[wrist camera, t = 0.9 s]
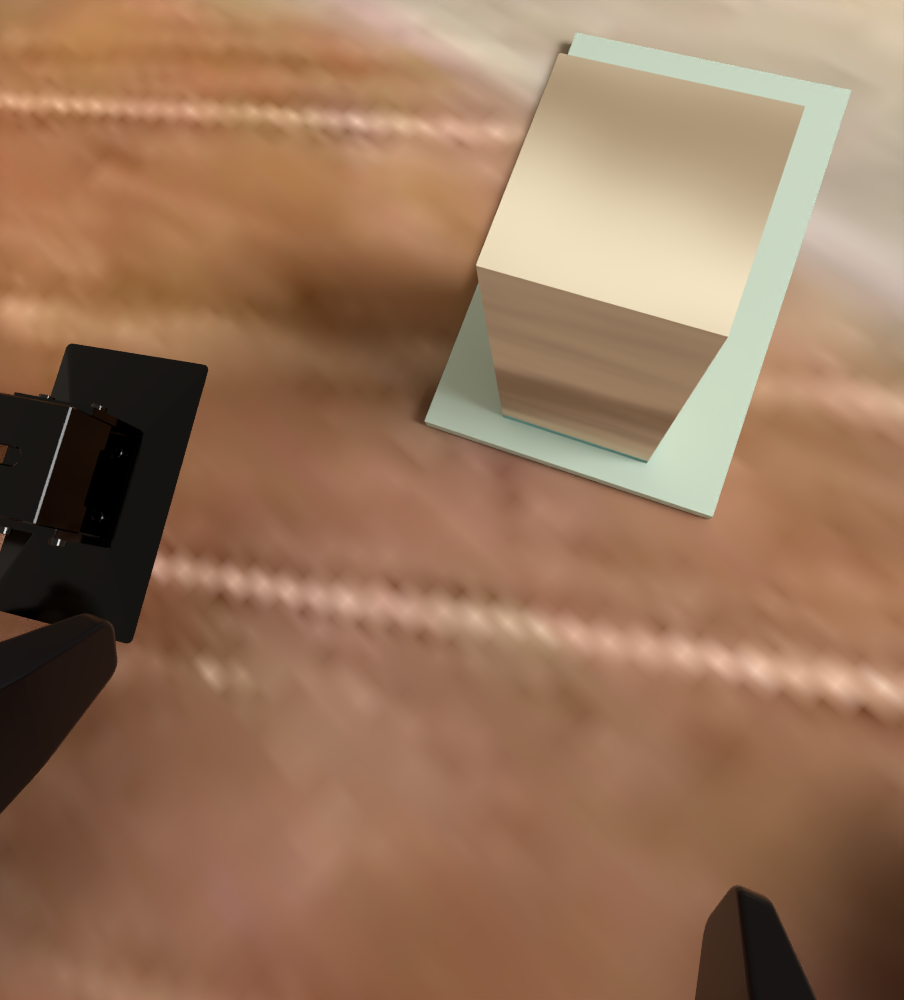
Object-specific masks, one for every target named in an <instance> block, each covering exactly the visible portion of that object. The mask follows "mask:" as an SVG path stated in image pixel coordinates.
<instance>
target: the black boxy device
mask: <svg viewBox="0 0 904 1000" xmlns="http://www.w3.org/2000/svg"><path fill="white" fill-rule="evenodd" d="M207 373H208V367H207V366H206V365H202V364H196V363H190V362H184V361H177V360H171V359H165V358H159V357H152V356H146V355H140V354H134V353H128V352H121V351H115V350H109V349H103V348H96V347H90V346H84V345H78V344H69V345H68V346H67V347H66V350H65V353H64V356H63V359H62V363H61V366H60V369H59V372H58V375H57V378H56V381H55V384H54V387H53V390H52V393H51V396H48V395H44V394H39V397H38V396H32V395H27V394H22V393H16V392H15V393H14V395H10V394H4V393H0V446H3V447H8V448H7V452H6V455H5V458H4V461H3V464H2V463H0V533H2V534H6V536H5V539H4V542H3V545H2V548H1V551H0V611H2V612H6V613H10V614H14V615H18V616H22V617H26V618H29V619H33V620H37V621H41V622H45V623H49V624H53V623H56V622H59V621H62V620H65V619H68V618H71V617H74V616H76V615H80V614H92V615H94V616H97V617H99V618H102V619H104V620H106V621H109V622H110V623H111V624H112V625H113V628H114V634H115V641H119V642H123V643H130V642H131V641H132V640H133V637H134V633H135V630H136V626H137V623H138V619H139V616H140V612H141V608H142V605H143V601H144V598H145V594H146V591H147V587H148V583H149V580H150V576H151V573H152V569H153V566H154V562H155V558H156V555H157V551H158V548H159V544H160V541H161V537H162V533H163V530H164V526H165V523H166V519H167V516H168V512H169V508H170V505H171V501H172V498H173V494H174V491H175V487H176V483H177V480H178V476H179V473H180V469H181V466H182V462H183V458H184V455H185V451H186V448H187V444H188V441H189V437H190V433H191V430H192V426H193V423H194V419H195V416H196V412H197V408H198V405H199V401H200V398H201V394H202V391H203V387H204V383H205V380H206V376H207Z"/></svg>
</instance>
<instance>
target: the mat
mask: <svg viewBox="0 0 904 1000" xmlns="http://www.w3.org/2000/svg"><path fill="white" fill-rule="evenodd" d="M568 55H572V56H576V57H581V58H586V59H590V60H595V61H600V62H604V63H609V64H613V65H618V66H623V67H627V68H632V69H636V70H641V71H646V72H650V73H655V74H659V75H664V76H669V77H673V78H678V79H683V80H687V81H692V82H696V83H701V84H706V85H710V86H715V87H719V88H724V89H729V90H733V91H738V92H742V93H747V94H752V95H756V96H761V97H766V98H770V99H775V100H779V101H784V102H789V103H793V104H798V105H802V106H805V108H804V111H803V114H802V117H801V120H800V123H799V126H798V129H797V132H796V135H795V138H794V141H793V144H792V147H791V150H790V153H789V156H788V159H787V162H786V165H785V168H784V171H783V174H782V177H781V180H780V183H779V186H778V189H777V192H776V195H775V198H774V201H773V204H772V207H771V210H770V213H769V216H768V219H767V222H766V225H765V228H764V231H763V234H762V237H761V240H760V243H759V246H758V249H757V252H756V255H755V258H754V261H753V264H752V267H751V270H750V273H749V276H748V279H747V282H746V285H745V288H744V291H743V294H742V297H741V300H740V303H739V306H738V309H737V312H736V315H735V318H734V321H733V324H732V327H731V330H730V333H729V336H728V338H727V339H726V341H725V342H724V344H723V346H722V347H721V349H720V350H719V352H718V353H717V355H716V356H715V358H714V360H713V361H712V363H711V364H710V366H709V367H708V369H707V370H706V372H705V374H704V375H703V377H702V378H701V380H700V381H699V383H698V384H697V386H696V388H695V389H694V391H693V392H692V394H691V395H690V397H689V398H688V400H687V402H686V403H685V405H684V406H683V408H682V409H681V411H680V412H679V414H678V416H677V417H676V419H675V420H674V422H673V423H672V425H671V426H670V428H669V430H668V431H667V433H666V434H665V436H664V437H663V439H662V440H661V442H660V444H659V445H658V447H657V448H656V450H655V451H654V453H653V454H652V456H651V458H650V459H649V461H648V462H647V463H644V462H641V461H637V460H634V459H631V458H628V457H625V456H622V455H619V454H616V453H613V452H610V451H607V450H603V449H600V448H597V447H594V446H591V445H588V444H585V443H582V442H579V441H576V440H572V439H569V438H566V437H563V436H560V435H557V434H554V433H551V432H548V431H545V430H542V429H538V428H535V427H532V426H529V425H526V424H523V423H520V422H517V421H514V420H511V419H508V418H504V417H503V414H502V408H501V403H500V397H499V392H498V386H497V380H496V375H495V369H494V364H493V358H492V353H491V347H490V342H489V336H488V331H487V325H486V319H485V314H484V308H483V303H482V297H481V292H480V286H479V283H478V285H477V288H476V290H475V293H474V295H473V298H472V301H471V303H470V306H469V308H468V311H467V313H466V316H465V319H464V321H463V324H462V326H461V329H460V331H459V334H458V336H457V339H456V342H455V344H454V347H453V349H452V352H451V354H450V357H449V359H448V362H447V365H446V367H445V370H444V372H443V375H442V377H441V380H440V382H439V385H438V388H437V390H436V393H435V395H434V398H433V400H432V403H431V406H430V408H429V411H428V413H427V416H426V418H425V423H426V425H427V426H430V427H433V428H436V429H439V430H442V431H445V432H448V433H451V434H454V435H457V436H460V437H463V438H466V439H469V440H472V441H475V442H478V443H481V444H484V445H487V446H490V447H493V448H496V449H499V450H502V451H505V452H508V453H511V454H514V455H517V456H520V457H523V458H526V459H529V460H532V461H535V462H538V463H541V464H544V465H547V466H550V467H553V468H556V469H559V470H562V471H565V472H568V473H571V474H574V475H577V476H580V477H583V478H586V479H589V480H592V481H595V482H598V483H601V484H604V485H607V486H610V487H613V488H616V489H619V490H622V491H625V492H628V493H631V494H634V495H637V496H640V497H643V498H646V499H649V500H652V501H655V502H658V503H661V504H665V505H668V506H671V507H674V508H677V509H680V510H683V511H686V512H689V513H692V514H695V515H698V516H701V517H704V518H707V519H710V518H712V517H713V514H714V511H715V508H716V505H717V502H718V499H719V496H720V493H721V490H722V487H723V483H724V480H725V477H726V474H727V471H728V468H729V465H730V462H731V459H732V456H733V453H734V450H735V447H736V443H737V440H738V437H739V434H740V431H741V428H742V425H743V422H744V419H745V416H746V413H747V410H748V407H749V404H750V400H751V397H752V394H753V391H754V388H755V385H756V382H757V379H758V376H759V373H760V370H761V367H762V364H763V361H764V357H765V354H766V351H767V348H768V345H769V342H770V339H771V336H772V333H773V330H774V327H775V324H776V321H777V317H778V314H779V311H780V308H781V305H782V302H783V299H784V296H785V293H786V290H787V287H788V284H789V281H790V278H791V274H792V271H793V268H794V265H795V262H796V259H797V256H798V253H799V250H800V247H801V244H802V241H803V238H804V234H805V231H806V228H807V225H808V222H809V219H810V216H811V213H812V210H813V207H814V204H815V201H816V198H817V195H818V191H819V188H820V185H821V182H822V179H823V176H824V173H825V170H826V167H827V164H828V161H829V158H830V155H831V151H832V148H833V145H834V142H835V139H836V136H837V133H838V130H839V127H840V124H841V121H842V118H843V115H844V112H845V108H846V105H847V102H848V99H849V96H850V93H851V90H847V89H843V88H838V87H833V86H828V85H824V84H819V83H814V82H809V81H805V80H800V79H795V78H790V77H786V76H781V75H776V74H771V73H767V72H762V71H757V70H752V69H748V68H743V67H738V66H733V65H728V64H724V63H719V62H714V61H709V60H705V59H700V58H695V57H690V56H686V55H681V54H676V53H671V52H667V51H662V50H657V49H652V48H648V47H643V46H638V45H633V44H629V43H624V42H619V41H614V40H610V39H605V38H600V37H595V36H591V35H586V34H581V33H576V34H575V37H574V39H573V42H572V45H571V47H570V50H569V52H568Z"/></svg>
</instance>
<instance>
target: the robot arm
mask: <svg viewBox="0 0 904 1000" xmlns="http://www.w3.org/2000/svg"><path fill="white" fill-rule="evenodd" d="M116 666H117V652H116V643H115V634H114V628H113V625H112V624H111V623H110V622H109V621H106V620H104V619H102V618H99V617H97V616H94V615H92V614H80V615H76V616H74V617H71V618H68V619H65V620H62V621H59V622H56V623H53V624H51V625H48V626H45V627H42V628H39V629H36V630H33V631H30V632H28V633H25V634H22V635H19V636H16V637H13V638H10V639H8V640H5V641H2V642H0V814H1V813H2V812H3V810H4V809H5V808H6V807H7V806H8V805H9V804H10V803H11V802H12V801H13V800H14V798H15V797H16V796H17V795H18V794H19V793H20V792H21V791H22V790H23V789H24V788H25V786H26V785H27V784H28V783H29V782H30V781H31V780H32V779H33V778H34V776H35V775H36V774H37V773H38V772H39V771H40V770H41V769H42V767H43V766H44V765H45V764H46V763H47V761H48V760H49V759H50V758H51V756H52V755H53V754H54V753H55V751H56V750H57V749H58V747H59V746H60V745H61V743H62V742H63V741H64V739H65V738H66V737H67V735H68V734H69V733H70V732H71V730H72V729H73V728H74V726H75V725H76V724H77V722H78V721H79V720H80V718H81V717H82V716H83V714H84V713H85V712H86V710H87V709H88V708H89V706H90V705H91V704H92V702H93V701H94V700H95V698H96V697H97V696H98V694H99V693H100V692H101V690H102V689H103V688H104V687H105V685H106V684H107V683H108V681H109V680H110V679H111V677H112V675H113V674H114V672H115V669H116ZM695 1000H817V999H816V997H815V995H814V993H813V990H812V988H811V986H810V984H809V982H808V979H807V977H806V975H805V973H804V971H803V969H802V966H801V964H800V962H799V960H798V958H797V955H796V953H795V951H794V949H793V947H792V944H791V942H790V940H789V938H788V936H787V933H786V931H785V929H784V927H783V925H782V923H781V920H780V918H779V916H778V914H777V912H776V909H775V907H774V905H773V904H772V902H771V901H770V900H769V899H768V898H767V897H765V896H764V895H761V894H759V893H757V892H754V891H752V890H750V889H747V888H745V887H742V886H739V885H736V886H733V887H732V888H731V889H730V890H729V891H728V892H727V894H726V895H725V896H724V898H723V899H722V900H721V901H720V903H719V904H718V905H717V907H716V908H715V909H714V911H713V912H712V913H711V915H710V916H709V918H708V920H707V923H706V926H705V930H704V934H703V941H702V949H701V957H700V965H699V972H698V980H697V988H696V996H695Z"/></svg>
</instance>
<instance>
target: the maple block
mask: <svg viewBox="0 0 904 1000" xmlns="http://www.w3.org/2000/svg"><path fill="white" fill-rule="evenodd" d="M804 108H805V106H802V105H798V104H793V103H789V102H784V101H779V100H775V99H770V98H766V97H761V96H756V95H752V94H747V93H742V92H738V91H733V90H729V89H724V88H719V87H715V86H710V85H706V84H701V83H696V82H692V81H687V80H683V79H678V78H673V77H669V76H664V75H659V74H655V73H650V72H646V71H641V70H636V69H632V68H627V67H623V66H618V65H613V64H609V63H604V62H600V61H595V60H590V59H586V58H581V57H576V56H572V55H567V54H563V53H559V55H558V57H557V60H556V62H555V65H554V68H553V70H552V73H551V75H550V78H549V80H548V83H547V85H546V88H545V90H544V93H543V96H542V98H541V101H540V103H539V106H538V108H537V111H536V113H535V116H534V118H533V121H532V124H531V126H530V129H529V131H528V134H527V136H526V139H525V141H524V144H523V146H522V149H521V152H520V154H519V157H518V159H517V162H516V164H515V167H514V169H513V172H512V175H511V177H510V180H509V182H508V185H507V187H506V190H505V192H504V195H503V197H502V200H501V203H500V205H499V208H498V210H497V213H496V215H495V218H494V220H493V223H492V225H491V228H490V231H489V233H488V236H487V238H486V241H485V243H484V246H483V248H482V251H481V253H480V256H479V259H478V261H477V264H476V270H477V275H478V281H479V286H480V292H481V297H482V303H483V308H484V314H485V319H486V325H487V331H488V336H489V342H490V347H491V353H492V358H493V364H494V369H495V375H496V380H497V386H498V392H499V397H500V403H501V408H502V414H503V417H504V418H508V419H511V420H514V421H517V422H520V423H523V424H526V425H529V426H532V427H535V428H538V429H542V430H545V431H548V432H551V433H554V434H557V435H560V436H563V437H566V438H569V439H572V440H576V441H579V442H582V443H585V444H588V445H591V446H594V447H597V448H600V449H603V450H607V451H610V452H613V453H616V454H619V455H622V456H625V457H628V458H631V459H634V460H637V461H641V462H644V463H647V462H648V461H649V459H650V458H651V456H652V454H653V453H654V451H655V450H656V448H657V447H658V445H659V444H660V442H661V440H662V439H663V437H664V436H665V434H666V433H667V431H668V430H669V428H670V426H671V425H672V423H673V422H674V420H675V419H676V417H677V416H678V414H679V412H680V411H681V409H682V408H683V406H684V405H685V403H686V402H687V400H688V398H689V397H690V395H691V394H692V392H693V391H694V389H695V388H696V386H697V384H698V383H699V381H700V380H701V378H702V377H703V375H704V374H705V372H706V370H707V369H708V367H709V366H710V364H711V363H712V361H713V360H714V358H715V356H716V355H717V353H718V352H719V350H720V349H721V347H722V346H723V344H724V342H725V341H726V339H727V338H728V336H729V333H730V330H731V327H732V324H733V321H734V318H735V315H736V312H737V309H738V306H739V303H740V300H741V297H742V294H743V291H744V288H745V285H746V282H747V279H748V276H749V273H750V270H751V267H752V264H753V261H754V258H755V255H756V252H757V249H758V246H759V243H760V240H761V237H762V234H763V231H764V228H765V225H766V222H767V219H768V216H769V213H770V210H771V207H772V204H773V201H774V198H775V195H776V192H777V189H778V186H779V183H780V180H781V177H782V174H783V171H784V168H785V165H786V162H787V159H788V156H789V153H790V150H791V147H792V144H793V141H794V138H795V135H796V132H797V129H798V126H799V123H800V120H801V117H802V114H803V111H804Z"/></svg>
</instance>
